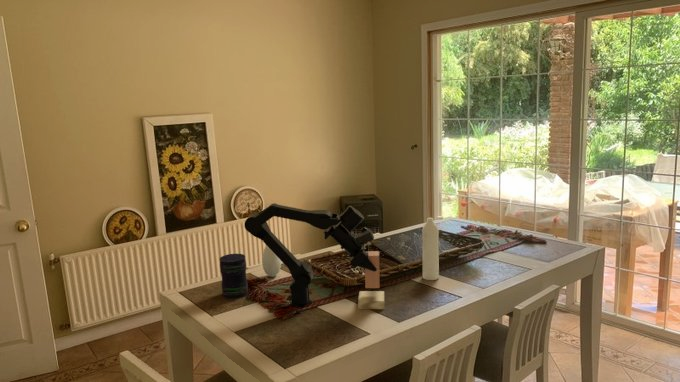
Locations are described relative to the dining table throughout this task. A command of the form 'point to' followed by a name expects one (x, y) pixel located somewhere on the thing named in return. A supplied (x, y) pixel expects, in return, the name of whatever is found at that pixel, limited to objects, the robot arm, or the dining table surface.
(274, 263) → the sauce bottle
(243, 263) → the storage jar
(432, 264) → the water bottle
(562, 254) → the dining table surface
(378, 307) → the birch plinth
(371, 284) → the terracotta post
